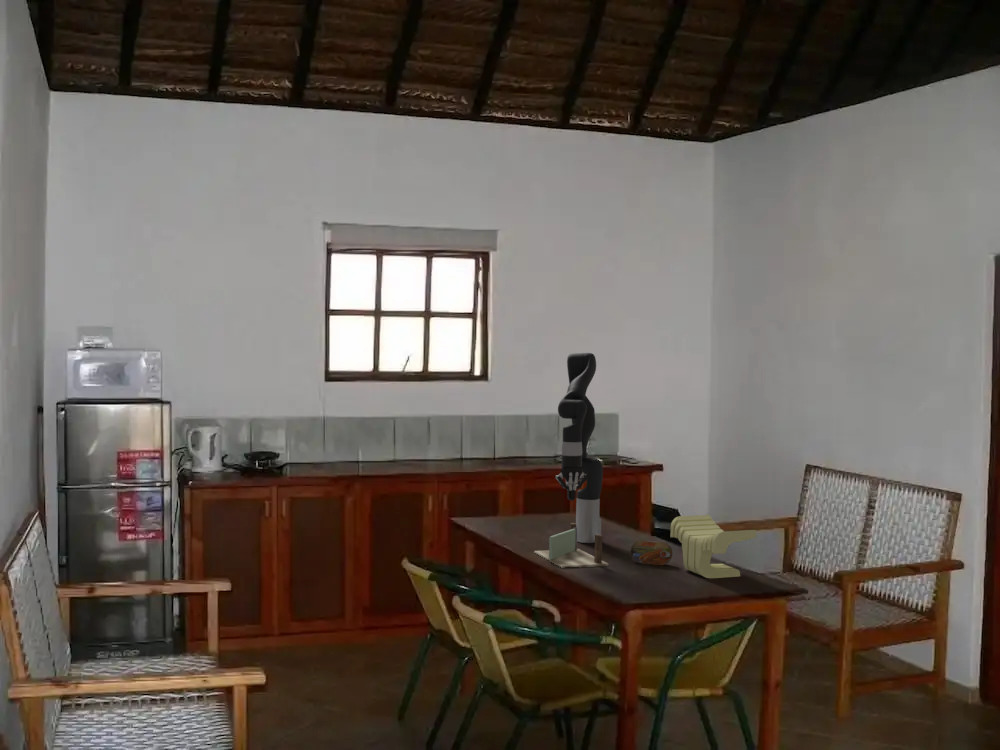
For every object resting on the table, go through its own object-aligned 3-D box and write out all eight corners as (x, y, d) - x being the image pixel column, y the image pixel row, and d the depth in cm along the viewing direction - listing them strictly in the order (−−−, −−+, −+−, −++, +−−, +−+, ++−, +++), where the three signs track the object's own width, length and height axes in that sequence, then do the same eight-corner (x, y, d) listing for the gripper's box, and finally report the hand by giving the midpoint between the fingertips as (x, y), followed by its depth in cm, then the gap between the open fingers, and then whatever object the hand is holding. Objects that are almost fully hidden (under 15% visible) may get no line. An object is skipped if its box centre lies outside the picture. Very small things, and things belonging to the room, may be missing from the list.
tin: (630, 562, 398) (630, 539, 398) (632, 561, 401) (632, 538, 400) (671, 566, 393) (671, 543, 392) (672, 565, 396) (673, 541, 395)
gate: (577, 549, 413) (578, 527, 413) (552, 559, 395) (552, 536, 395) (573, 549, 414) (574, 527, 413) (548, 558, 396) (548, 535, 396)
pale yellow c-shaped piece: (669, 565, 394) (670, 516, 393) (708, 563, 400) (709, 514, 399) (713, 584, 366) (715, 531, 365) (754, 581, 372) (756, 529, 371)
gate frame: (578, 550, 417) (578, 522, 417) (608, 565, 392) (608, 535, 391) (534, 553, 411) (534, 524, 411) (561, 568, 386) (562, 538, 385)
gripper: (583, 451, 410) (583, 497, 411) (551, 453, 405) (550, 499, 406) (592, 454, 403) (591, 501, 404) (559, 455, 398) (559, 502, 399)
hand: (571, 500), depth 405 cm, fingers closed
